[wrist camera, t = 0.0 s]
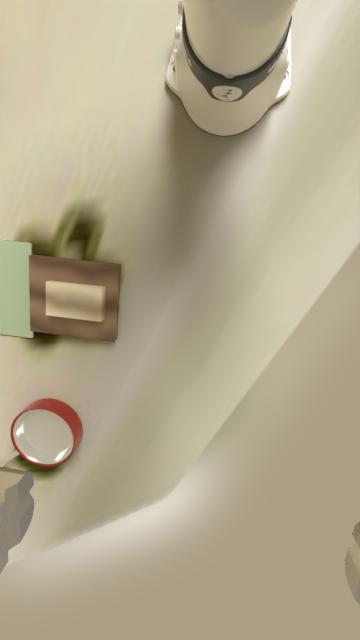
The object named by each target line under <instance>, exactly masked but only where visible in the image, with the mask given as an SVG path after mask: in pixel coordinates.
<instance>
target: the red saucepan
mask: <svg viewBox="0 0 360 640" xmlns="http://www.w3.org/2000/svg"><path fill="white" fill-rule="evenodd" d="M81 436H82V424H81V421H80V418H79V417H78V415H77V413H76V412H75V411H74V410H73V409H72V408H71V407H70V406H69V405H67V404H65V403H64V402H61V401H59V400H55V399H41V400H38V401H35V402H33V403H32V404H30V405H29V406H28V407H27V408H26V409H24V410H23V411H22V412H21V413H20V414H19V415H18V416H17V417H16V418H15V420H14V421H13V423H12V427H11V439H12V442H13V445H14V447H15V448H16V451H15V452H13V453H12V454H10V455H9V456H8V457H6V458H5V459H4V460H2V461H1V462H0V467H3V466H4V465H6V464H7V463H8V462H10V461H11V460H13V459H14V458H15V457H17V456H18V455H19V454H20V455H21V456H22V457H24V458H25V459H26V460H28V461H29V462H31V463H33V464H36V465H39V466H46V467H51V466H57V465H59V464H62V463H63V462H65V461H66V460H67V459H68V458H69V457H70V456H71V454H72V453H73V451H74V450H75V448H76V446H77V445H78V443H79V442H80V439H81Z"/></svg>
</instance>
